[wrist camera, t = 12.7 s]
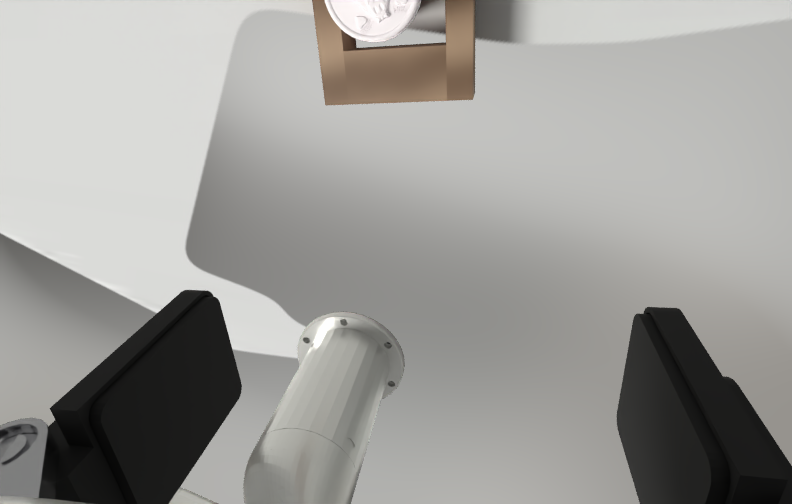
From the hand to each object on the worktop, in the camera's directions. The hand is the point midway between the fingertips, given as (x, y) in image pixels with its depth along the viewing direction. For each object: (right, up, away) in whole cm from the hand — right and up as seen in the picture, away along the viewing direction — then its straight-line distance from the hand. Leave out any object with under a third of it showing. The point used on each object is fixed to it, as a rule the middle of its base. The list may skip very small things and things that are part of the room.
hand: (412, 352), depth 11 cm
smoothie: (0, +23, +28) cm, 36 cm away
